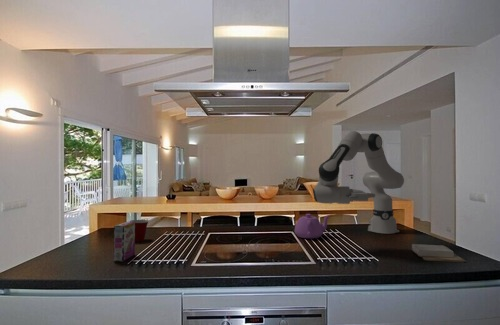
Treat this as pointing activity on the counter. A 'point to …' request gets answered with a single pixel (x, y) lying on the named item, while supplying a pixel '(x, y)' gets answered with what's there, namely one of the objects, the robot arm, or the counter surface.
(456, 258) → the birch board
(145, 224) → the plastic cup
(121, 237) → the candy bar box
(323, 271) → the counter surface
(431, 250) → the tile
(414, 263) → the counter surface
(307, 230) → the teapot
